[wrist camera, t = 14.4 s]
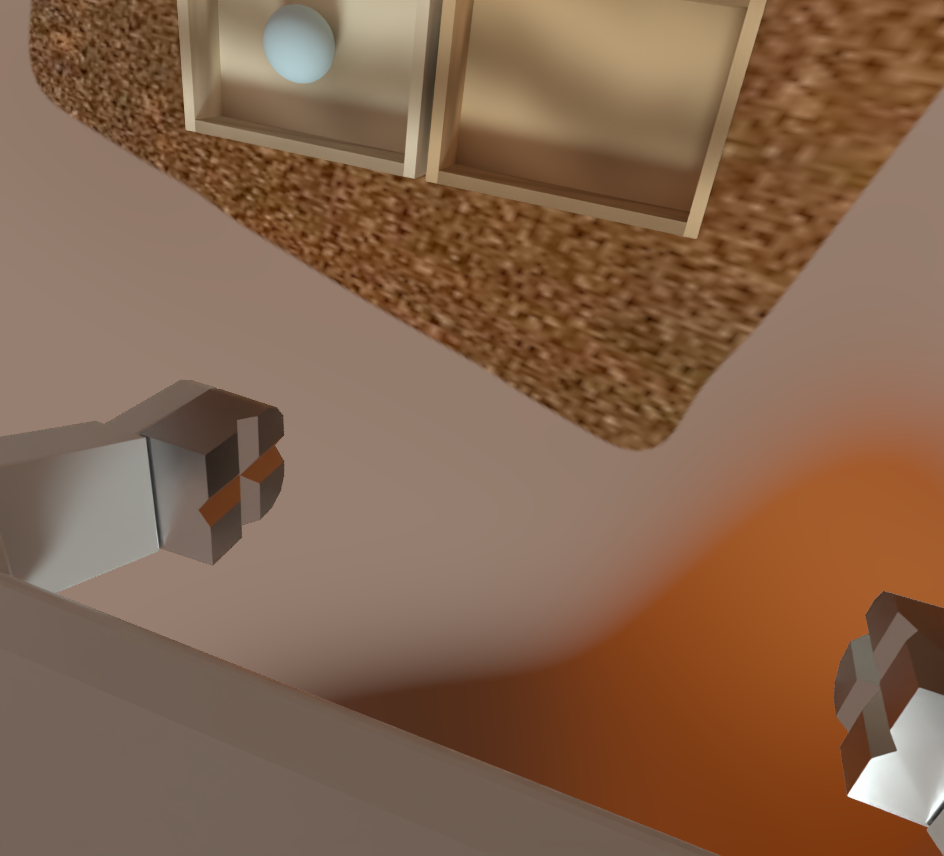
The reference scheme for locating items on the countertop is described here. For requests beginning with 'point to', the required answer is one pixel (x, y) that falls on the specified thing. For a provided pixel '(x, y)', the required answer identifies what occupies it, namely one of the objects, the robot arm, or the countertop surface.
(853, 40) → the countertop surface
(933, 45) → the countertop surface
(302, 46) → the ball
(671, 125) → the box near
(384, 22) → the box far
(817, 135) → the countertop surface
